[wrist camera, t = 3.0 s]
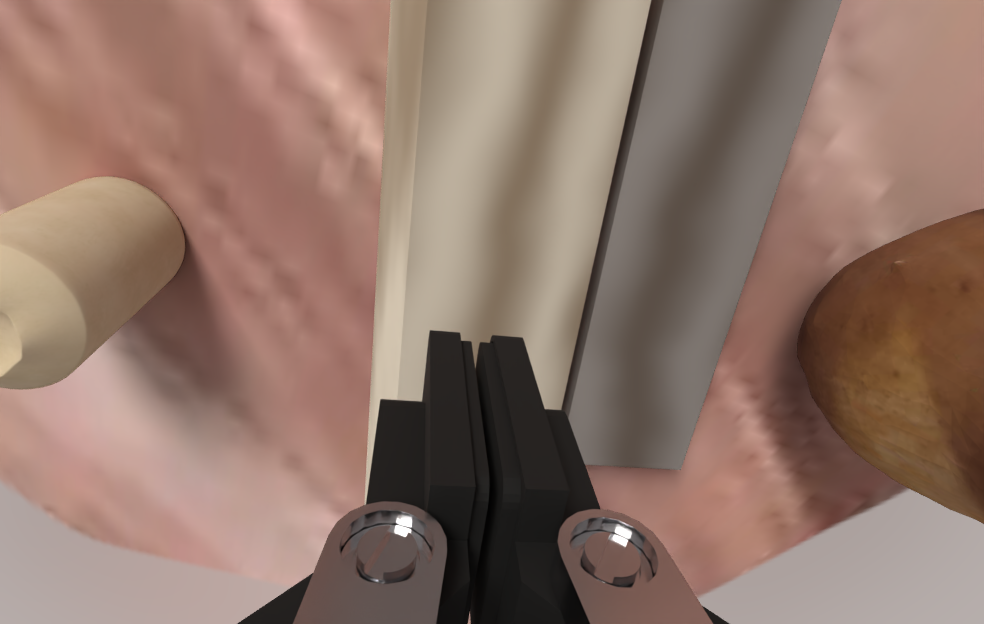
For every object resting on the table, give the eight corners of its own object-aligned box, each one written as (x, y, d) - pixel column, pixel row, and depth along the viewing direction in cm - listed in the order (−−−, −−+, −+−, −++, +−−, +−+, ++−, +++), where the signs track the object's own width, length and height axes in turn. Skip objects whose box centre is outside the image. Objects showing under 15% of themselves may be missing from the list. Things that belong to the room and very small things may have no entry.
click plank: (620, -51, 23) (662, -51, 22) (524, 444, 33) (549, 464, 32) (397, -121, 17) (436, -127, 15) (364, 513, 27) (386, 543, 26)
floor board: (818, -15, 24) (847, -18, 23) (668, 446, 35) (680, 469, 33) (657, -42, 24) (675, -48, 22) (552, 439, 34) (558, 463, 32)
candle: (58, 158, 25) (-155, 231, 16) (193, 195, 26) (64, 284, 17) (55, 272, 27) (-133, 393, 18) (180, 303, 28) (60, 431, 19)
